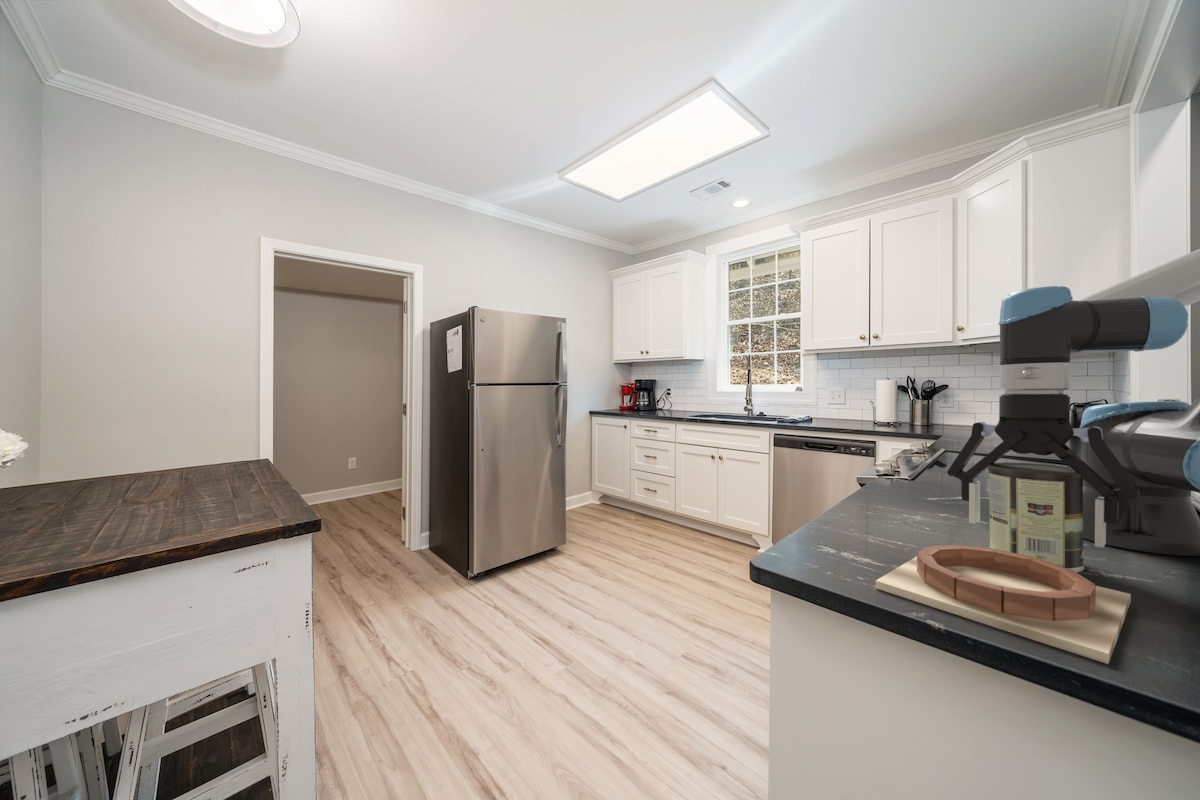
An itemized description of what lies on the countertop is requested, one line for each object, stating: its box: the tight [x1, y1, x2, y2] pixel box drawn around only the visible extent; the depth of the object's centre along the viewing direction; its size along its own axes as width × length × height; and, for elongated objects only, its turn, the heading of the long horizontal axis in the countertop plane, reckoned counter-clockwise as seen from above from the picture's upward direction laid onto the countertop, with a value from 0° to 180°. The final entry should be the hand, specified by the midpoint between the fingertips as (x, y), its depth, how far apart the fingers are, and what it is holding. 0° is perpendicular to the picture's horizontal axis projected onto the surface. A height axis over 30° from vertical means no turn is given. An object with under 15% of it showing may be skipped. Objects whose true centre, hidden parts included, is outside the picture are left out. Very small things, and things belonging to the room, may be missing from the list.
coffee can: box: [987, 461, 1085, 573], centre depth 66 cm, size 10×10×14 cm
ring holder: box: [875, 544, 1132, 665], centre depth 55 cm, size 20×20×4 cm
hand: (1032, 532), depth 66 cm, fingers open, 13 cm apart
